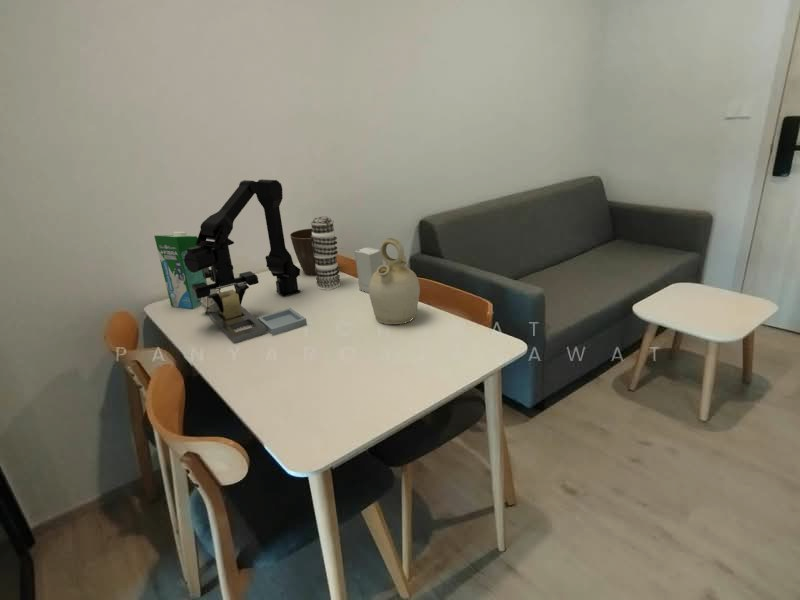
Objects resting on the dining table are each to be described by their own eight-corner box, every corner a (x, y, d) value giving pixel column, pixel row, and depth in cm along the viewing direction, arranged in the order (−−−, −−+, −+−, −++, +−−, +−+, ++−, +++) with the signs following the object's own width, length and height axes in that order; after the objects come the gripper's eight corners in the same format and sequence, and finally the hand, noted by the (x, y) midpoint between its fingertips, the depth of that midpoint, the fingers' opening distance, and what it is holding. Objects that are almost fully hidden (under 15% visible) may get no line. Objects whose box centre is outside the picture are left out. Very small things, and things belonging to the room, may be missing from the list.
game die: (222, 320, 163) (237, 294, 162) (210, 322, 154) (225, 295, 153) (201, 306, 163) (215, 280, 162) (187, 307, 155) (202, 280, 154)
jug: (393, 332, 140) (388, 249, 130) (360, 317, 151) (354, 239, 141) (431, 316, 149) (429, 237, 140) (397, 303, 160) (394, 228, 151)
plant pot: (337, 266, 199) (333, 227, 193) (328, 278, 185) (324, 237, 179) (301, 266, 200) (296, 228, 194) (290, 279, 187) (284, 238, 181)
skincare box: (386, 290, 171) (383, 250, 165) (373, 295, 167) (370, 254, 161) (370, 285, 177) (367, 245, 171) (357, 290, 173) (354, 249, 167)
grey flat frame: (241, 310, 160) (240, 305, 159) (267, 333, 143) (266, 327, 142) (210, 319, 154) (209, 313, 154) (234, 343, 138) (232, 337, 137)
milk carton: (210, 299, 171) (196, 229, 161) (192, 309, 163) (176, 236, 153) (189, 297, 174) (174, 228, 164) (171, 306, 166) (153, 235, 156)
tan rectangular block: (237, 314, 156) (232, 289, 152) (242, 319, 152) (238, 293, 149) (221, 318, 153) (216, 293, 150) (226, 323, 149) (221, 298, 146)
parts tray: (291, 313, 156) (290, 308, 155) (306, 324, 148) (306, 318, 147) (258, 323, 150) (257, 317, 149) (272, 335, 142) (271, 329, 141)
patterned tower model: (311, 285, 179) (303, 218, 169) (332, 279, 184) (325, 214, 175) (324, 292, 172) (317, 222, 163) (346, 285, 178) (340, 217, 168)
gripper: (242, 250, 156) (250, 295, 162) (181, 262, 146) (192, 310, 152) (255, 257, 148) (262, 304, 154) (191, 271, 138) (202, 321, 144)
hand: (230, 309), depth 151 cm, fingers closed on tan rectangular block, 5 cm apart
